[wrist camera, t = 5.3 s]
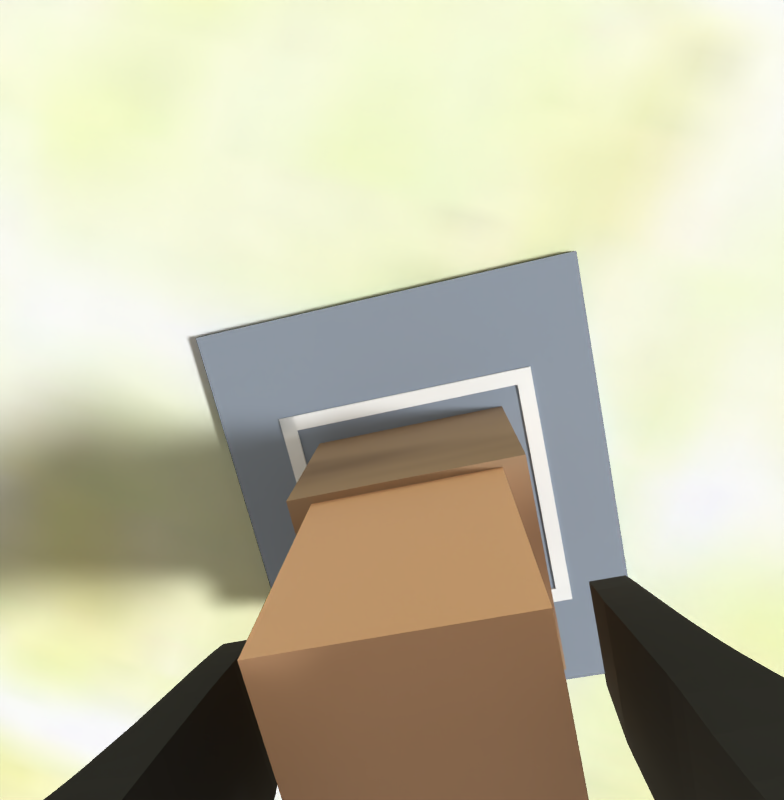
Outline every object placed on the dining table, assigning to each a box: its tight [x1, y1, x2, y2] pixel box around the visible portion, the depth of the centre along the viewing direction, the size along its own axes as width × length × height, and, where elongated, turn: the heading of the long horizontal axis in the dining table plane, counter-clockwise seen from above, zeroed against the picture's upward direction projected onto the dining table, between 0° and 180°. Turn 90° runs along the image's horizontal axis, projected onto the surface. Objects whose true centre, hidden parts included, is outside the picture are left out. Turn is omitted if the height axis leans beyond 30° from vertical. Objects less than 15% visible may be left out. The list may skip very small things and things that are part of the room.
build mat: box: [196, 251, 628, 679], centre depth 17 cm, size 12×10×1 cm
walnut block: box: [286, 406, 566, 670], centre depth 15 cm, size 5×5×4 cm
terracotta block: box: [237, 467, 589, 800], centre depth 10 cm, size 4×4×5 cm
